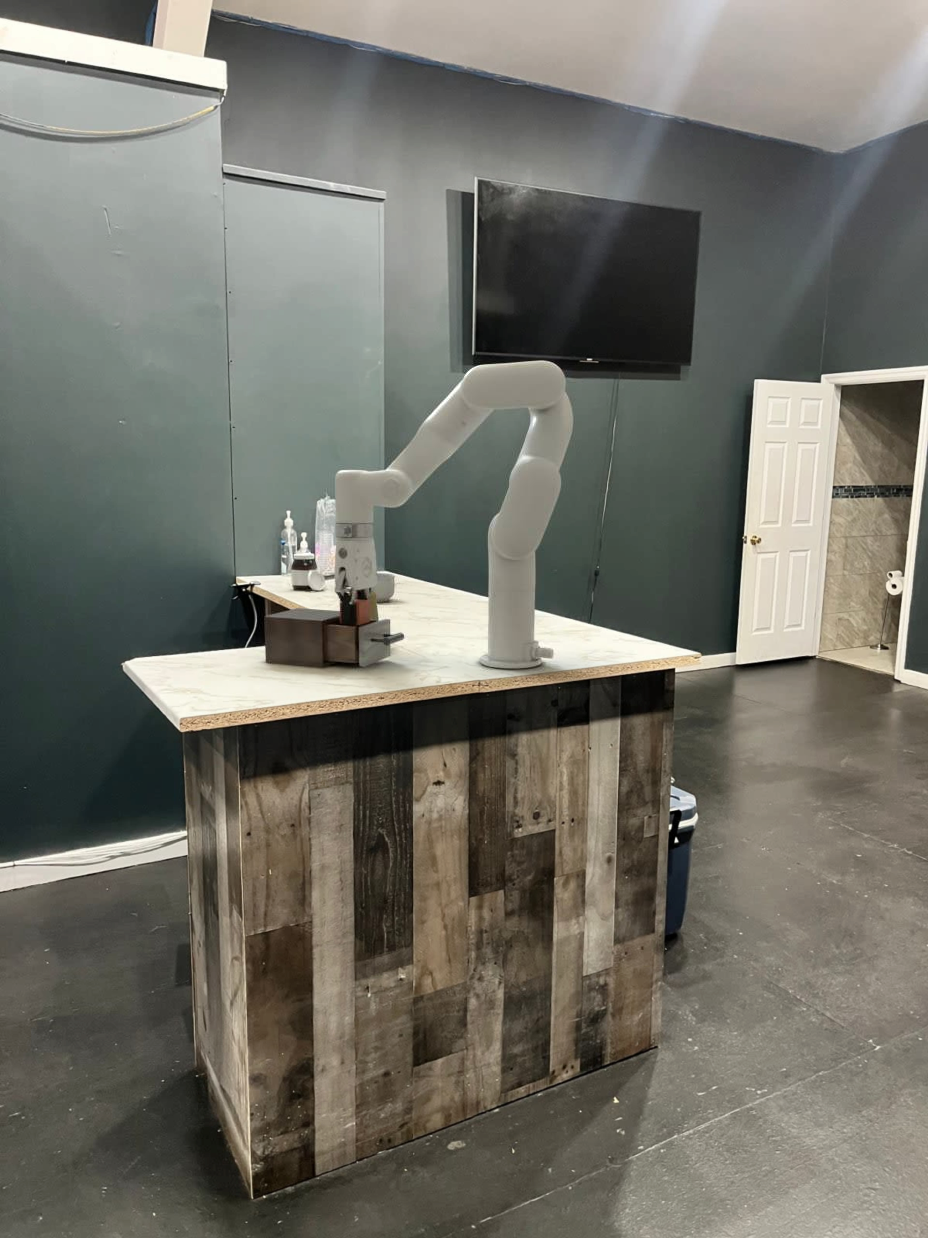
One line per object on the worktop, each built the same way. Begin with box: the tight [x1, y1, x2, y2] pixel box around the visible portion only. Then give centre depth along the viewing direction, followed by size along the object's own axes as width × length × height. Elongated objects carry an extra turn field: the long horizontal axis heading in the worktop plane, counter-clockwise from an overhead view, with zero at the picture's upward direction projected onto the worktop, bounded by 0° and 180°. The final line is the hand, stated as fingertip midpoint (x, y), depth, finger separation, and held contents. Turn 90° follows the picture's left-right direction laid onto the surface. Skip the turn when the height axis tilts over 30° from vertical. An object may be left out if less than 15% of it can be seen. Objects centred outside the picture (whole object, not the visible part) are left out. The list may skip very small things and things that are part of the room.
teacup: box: [371, 572, 396, 603], centre depth 281 cm, size 14×11×8 cm
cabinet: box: [263, 607, 340, 668], centre depth 192 cm, size 14×13×10 cm
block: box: [339, 599, 370, 625], centre depth 187 cm, size 4×4×4 cm
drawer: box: [324, 618, 405, 667], centre depth 188 cm, size 17×11×8 cm
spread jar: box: [290, 553, 326, 592], centre depth 307 cm, size 12×11×12 cm
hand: (355, 620), depth 188 cm, fingers closed on block, 4 cm apart
